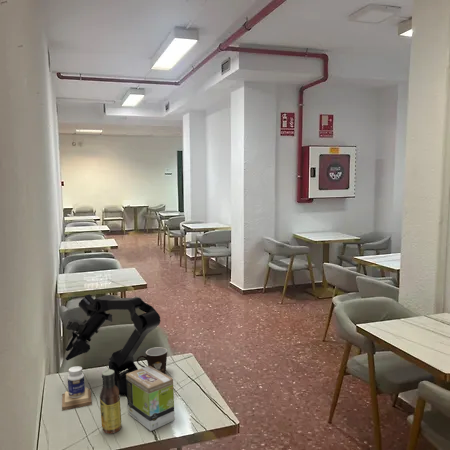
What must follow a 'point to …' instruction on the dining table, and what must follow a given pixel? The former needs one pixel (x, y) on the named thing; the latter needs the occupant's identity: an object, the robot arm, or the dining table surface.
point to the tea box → (150, 397)
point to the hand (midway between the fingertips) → (66, 354)
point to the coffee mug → (156, 358)
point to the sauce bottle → (110, 403)
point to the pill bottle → (76, 382)
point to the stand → (76, 400)
